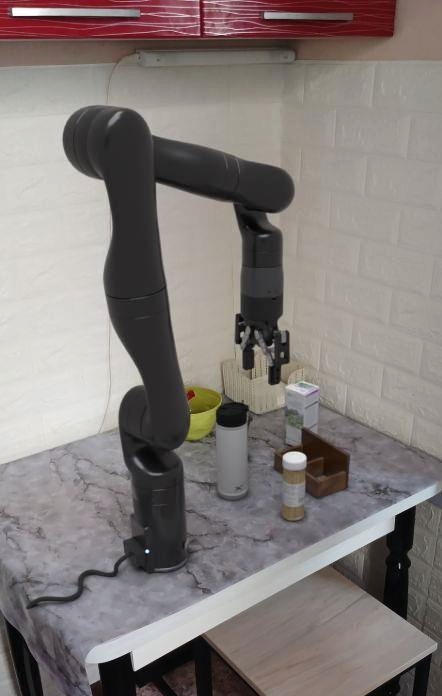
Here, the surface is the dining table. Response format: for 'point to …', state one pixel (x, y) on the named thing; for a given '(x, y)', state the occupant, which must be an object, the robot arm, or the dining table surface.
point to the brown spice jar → (293, 485)
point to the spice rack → (319, 464)
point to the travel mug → (232, 450)
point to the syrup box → (300, 410)
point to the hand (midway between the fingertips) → (261, 376)
